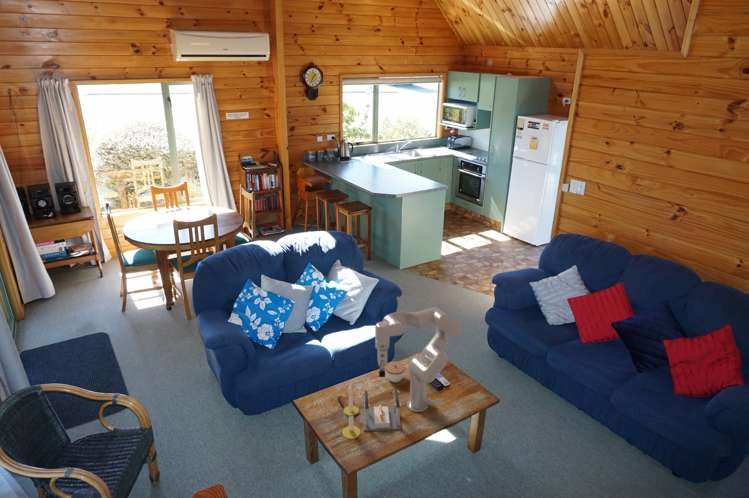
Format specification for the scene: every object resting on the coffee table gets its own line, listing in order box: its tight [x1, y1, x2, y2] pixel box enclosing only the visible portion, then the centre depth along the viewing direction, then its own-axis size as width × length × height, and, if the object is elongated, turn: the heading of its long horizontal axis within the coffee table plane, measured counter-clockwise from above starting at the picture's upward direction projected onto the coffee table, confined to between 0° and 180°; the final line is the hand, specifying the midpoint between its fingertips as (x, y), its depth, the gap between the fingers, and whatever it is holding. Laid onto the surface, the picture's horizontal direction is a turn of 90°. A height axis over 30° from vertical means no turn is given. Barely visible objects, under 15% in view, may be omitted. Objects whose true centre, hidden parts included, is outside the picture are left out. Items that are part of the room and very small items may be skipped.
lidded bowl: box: [385, 361, 406, 383], centre depth 323 cm, size 13×13×11 cm
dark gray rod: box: [394, 389, 401, 408], centre depth 284 cm, size 2×15×2 cm, turn 3°
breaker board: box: [362, 390, 402, 432], centre depth 286 cm, size 21×16×15 cm
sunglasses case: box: [337, 395, 361, 419], centre depth 299 cm, size 18×7×7 cm
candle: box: [342, 383, 361, 440], centre depth 274 cm, size 10×10×32 cm
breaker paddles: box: [378, 404, 383, 420], centre depth 287 cm, size 1×9×3 cm, turn 2°
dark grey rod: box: [364, 390, 369, 409], centre depth 283 cm, size 2×15×2 cm, turn 3°
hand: (381, 371), depth 278 cm, fingers open, 9 cm apart
